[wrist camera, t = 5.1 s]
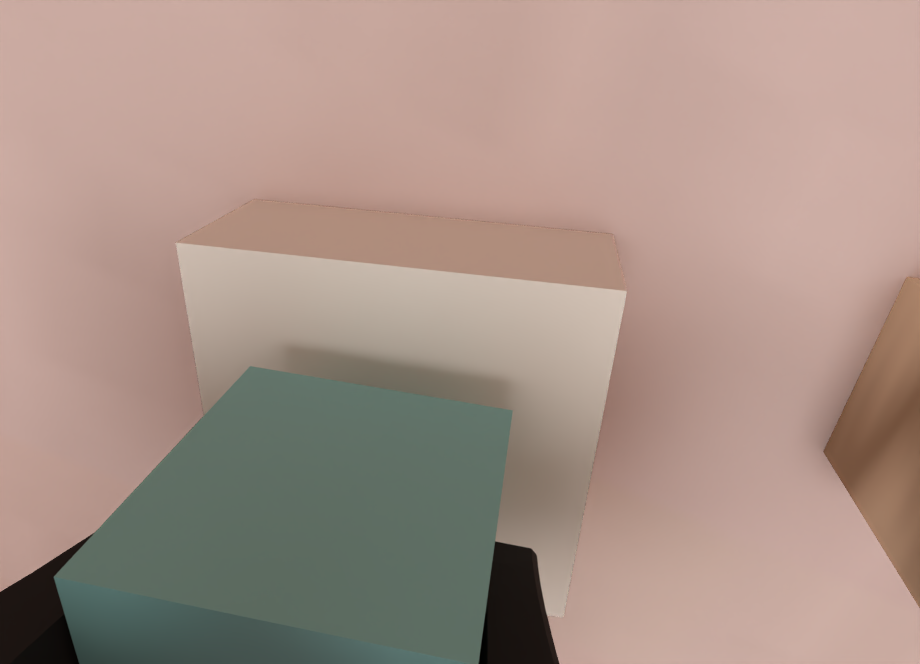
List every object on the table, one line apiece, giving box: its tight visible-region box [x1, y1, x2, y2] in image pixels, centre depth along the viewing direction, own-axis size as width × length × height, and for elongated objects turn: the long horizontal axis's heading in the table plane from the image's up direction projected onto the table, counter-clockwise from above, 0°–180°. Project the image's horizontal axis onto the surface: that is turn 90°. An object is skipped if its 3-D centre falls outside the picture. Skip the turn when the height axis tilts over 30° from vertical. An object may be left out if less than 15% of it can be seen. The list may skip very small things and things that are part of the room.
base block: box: [176, 199, 627, 618], centre depth 14 cm, size 8×8×4 cm
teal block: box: [54, 366, 513, 664], centre depth 9 cm, size 4×4×4 cm
